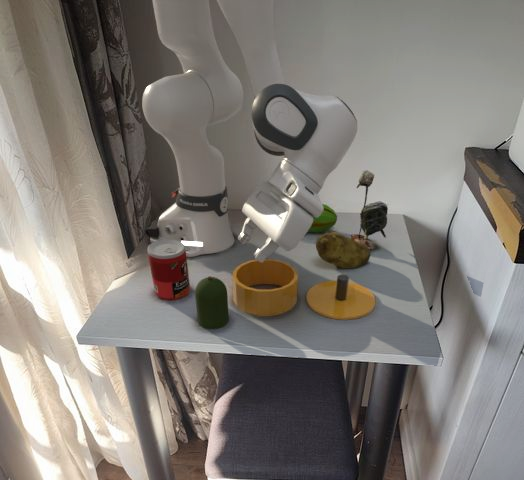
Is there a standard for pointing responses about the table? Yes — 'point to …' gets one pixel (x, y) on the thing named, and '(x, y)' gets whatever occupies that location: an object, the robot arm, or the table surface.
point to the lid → (340, 299)
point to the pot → (261, 299)
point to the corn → (324, 220)
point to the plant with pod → (370, 215)
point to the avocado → (212, 303)
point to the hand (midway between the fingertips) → (249, 250)
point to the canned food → (169, 269)
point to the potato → (342, 250)
